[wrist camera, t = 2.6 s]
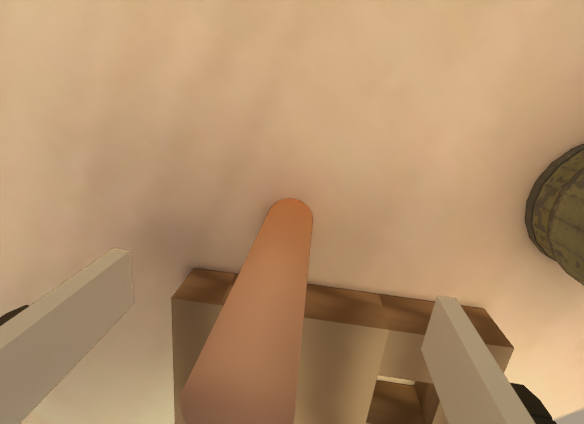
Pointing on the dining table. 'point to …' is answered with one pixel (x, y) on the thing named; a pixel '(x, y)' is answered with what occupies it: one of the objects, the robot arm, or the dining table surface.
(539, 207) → the thermos
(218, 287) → the hole block
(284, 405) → the peg
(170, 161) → the dining table surface
